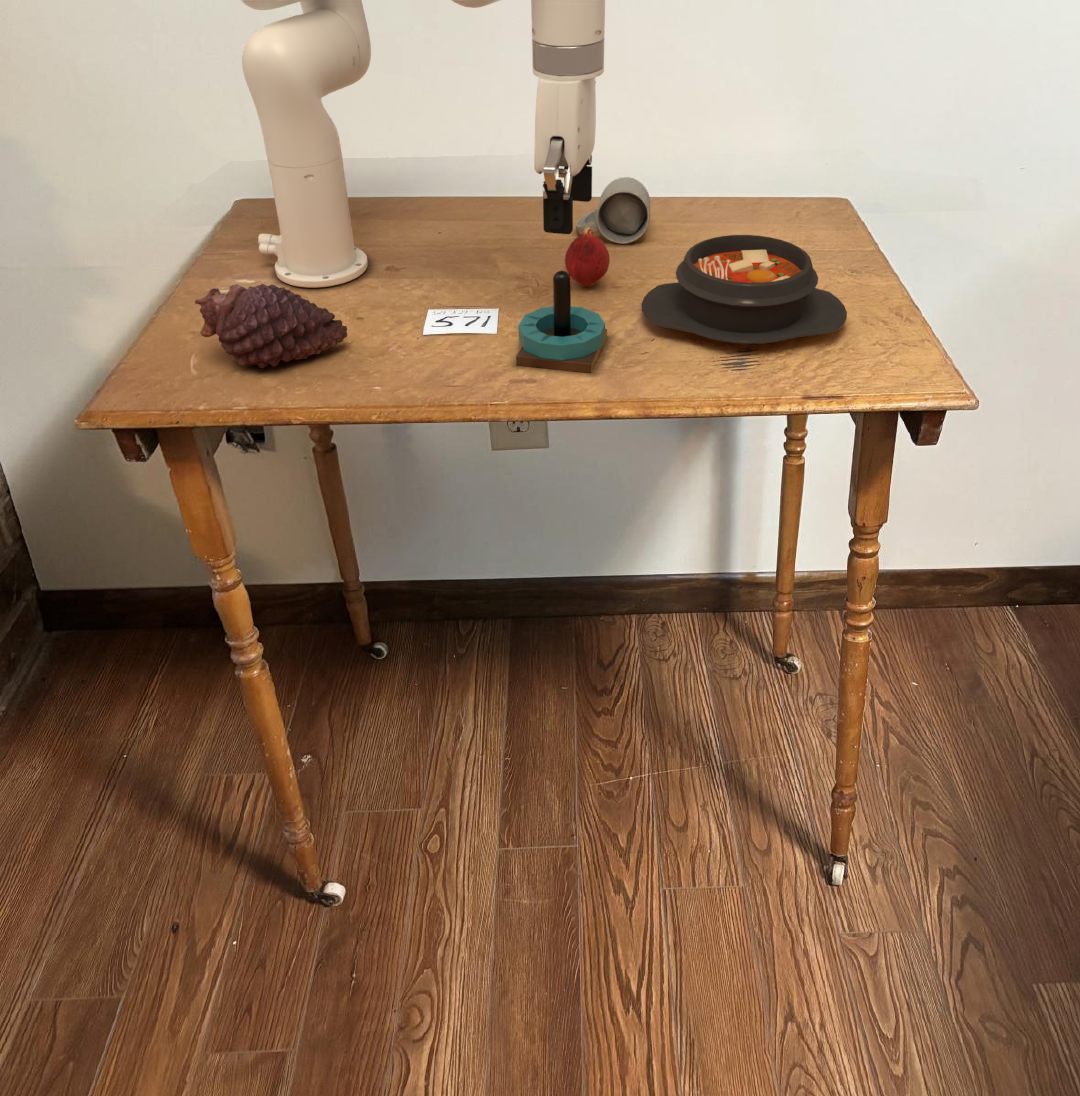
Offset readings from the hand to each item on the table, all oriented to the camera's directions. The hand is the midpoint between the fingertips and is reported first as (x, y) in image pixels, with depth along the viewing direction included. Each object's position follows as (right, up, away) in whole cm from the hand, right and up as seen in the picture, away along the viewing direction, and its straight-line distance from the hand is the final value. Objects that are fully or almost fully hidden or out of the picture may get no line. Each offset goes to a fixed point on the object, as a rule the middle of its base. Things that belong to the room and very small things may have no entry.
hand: (568, 215), depth 125 cm
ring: (-1, -13, +6) cm, 14 cm away
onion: (+3, -3, +20) cm, 21 cm away
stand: (-1, -14, +6) cm, 16 cm away
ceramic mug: (+7, +7, +34) cm, 35 cm away
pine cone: (-35, -15, +7) cm, 38 cm away
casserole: (+22, -10, +11) cm, 26 cm away
